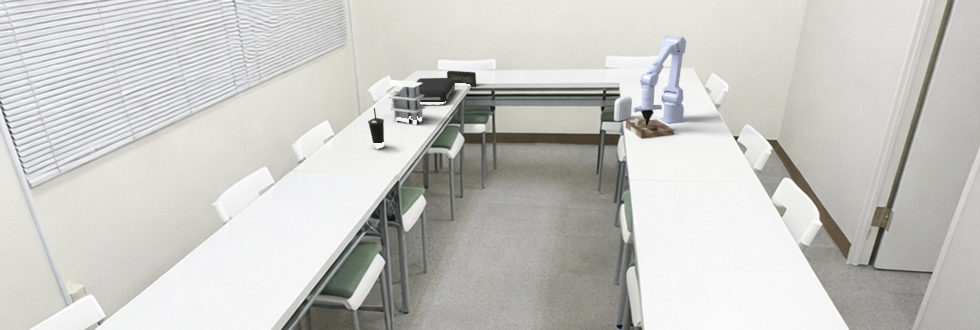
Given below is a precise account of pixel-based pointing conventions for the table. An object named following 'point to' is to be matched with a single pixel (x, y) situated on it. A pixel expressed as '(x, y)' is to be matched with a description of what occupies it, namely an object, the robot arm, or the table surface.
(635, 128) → the box
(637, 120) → the maple block
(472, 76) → the nameplate
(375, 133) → the drinking cup
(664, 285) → the table surface
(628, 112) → the photo printer
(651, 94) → the robot arm
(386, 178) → the table surface
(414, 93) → the file organizer
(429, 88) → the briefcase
